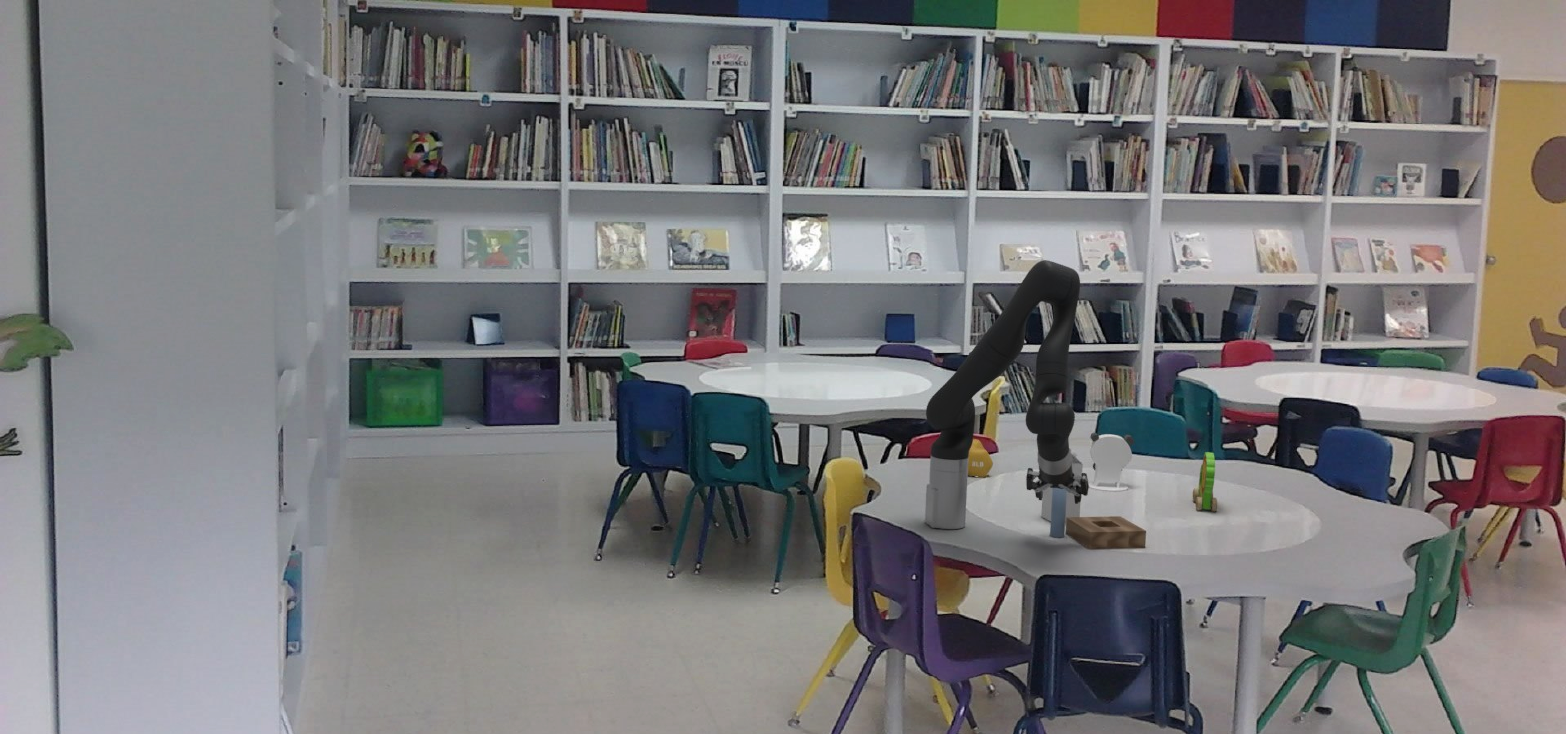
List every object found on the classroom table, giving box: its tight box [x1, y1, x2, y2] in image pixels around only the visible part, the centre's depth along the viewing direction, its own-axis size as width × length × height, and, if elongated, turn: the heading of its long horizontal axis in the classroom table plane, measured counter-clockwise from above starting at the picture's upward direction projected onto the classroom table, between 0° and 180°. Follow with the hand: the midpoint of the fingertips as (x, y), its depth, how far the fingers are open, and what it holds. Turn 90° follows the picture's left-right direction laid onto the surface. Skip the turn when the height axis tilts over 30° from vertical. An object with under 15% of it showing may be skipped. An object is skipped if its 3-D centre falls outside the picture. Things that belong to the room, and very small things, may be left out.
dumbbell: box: [968, 438, 994, 478], centre depth 402 cm, size 19×9×8 cm, turn 179°
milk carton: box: [1040, 447, 1084, 524], centre depth 345 cm, size 7×7×19 cm
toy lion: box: [1192, 451, 1218, 512], centre depth 364 cm, size 16×5×15 cm, turn 168°
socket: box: [1065, 515, 1147, 550], centre depth 328 cm, size 14×14×4 cm
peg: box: [1049, 488, 1067, 539], centre depth 330 cm, size 3×3×14 cm
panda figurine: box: [1088, 432, 1135, 493], centre depth 385 cm, size 12×11×15 cm
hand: (1058, 498), depth 328 cm, fingers open, 8 cm apart
